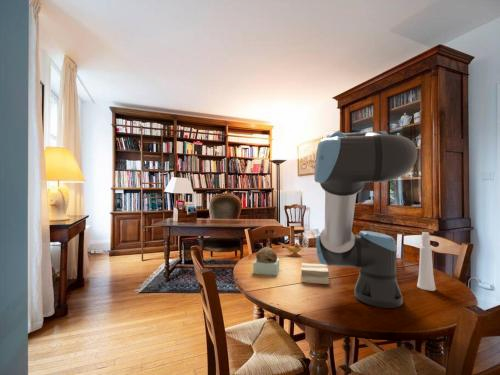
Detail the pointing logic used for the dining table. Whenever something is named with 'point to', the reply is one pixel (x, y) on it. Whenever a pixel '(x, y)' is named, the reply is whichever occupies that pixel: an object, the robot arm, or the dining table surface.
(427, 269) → the cosmetic bottle
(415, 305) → the dining table surface
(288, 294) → the dining table surface
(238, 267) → the dining table surface
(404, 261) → the dining table surface
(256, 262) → the green block
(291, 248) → the magic lamp
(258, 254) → the brown domed lump
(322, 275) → the beech block
